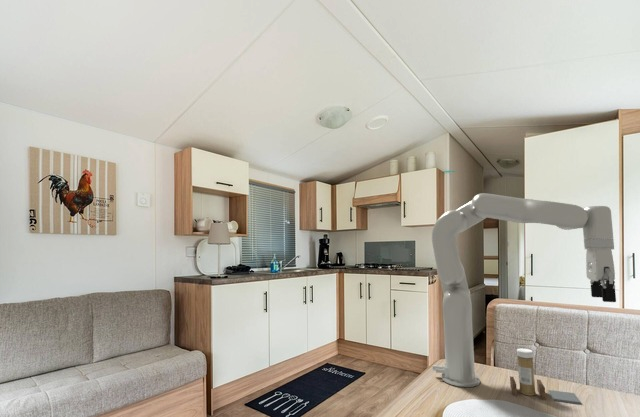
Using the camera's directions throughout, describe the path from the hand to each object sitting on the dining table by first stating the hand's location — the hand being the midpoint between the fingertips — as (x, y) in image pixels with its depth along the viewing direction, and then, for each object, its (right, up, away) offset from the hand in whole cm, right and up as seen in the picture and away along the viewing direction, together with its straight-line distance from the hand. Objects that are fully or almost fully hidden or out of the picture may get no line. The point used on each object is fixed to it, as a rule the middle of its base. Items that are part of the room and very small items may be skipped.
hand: (603, 299), depth 113 cm
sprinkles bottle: (-23, -31, +2) cm, 38 cm away
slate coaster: (-13, -30, -2) cm, 33 cm away
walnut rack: (-23, -31, +2) cm, 38 cm away
